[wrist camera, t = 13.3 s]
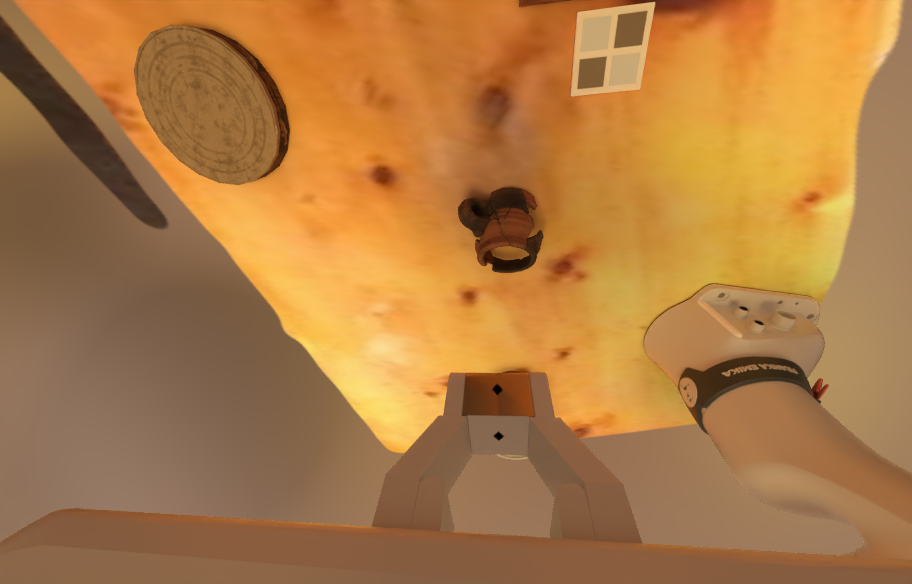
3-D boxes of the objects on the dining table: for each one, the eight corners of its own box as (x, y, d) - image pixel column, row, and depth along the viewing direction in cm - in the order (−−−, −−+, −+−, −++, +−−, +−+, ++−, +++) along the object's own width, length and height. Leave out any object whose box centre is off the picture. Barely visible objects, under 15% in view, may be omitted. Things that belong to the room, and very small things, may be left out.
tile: (653, 2, 31) (655, 1, 31) (638, 89, 35) (640, 89, 34) (576, 12, 32) (577, 11, 32) (570, 96, 36) (570, 96, 35)
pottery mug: (557, 200, 42) (561, 254, 39) (512, 236, 50) (512, 284, 46) (477, 160, 38) (473, 217, 34) (441, 207, 45) (435, 257, 42)
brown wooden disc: (308, 175, 43) (297, 181, 41) (199, 182, 45) (182, 188, 43) (260, 20, 35) (242, 15, 32) (128, 36, 37) (102, 33, 34)
